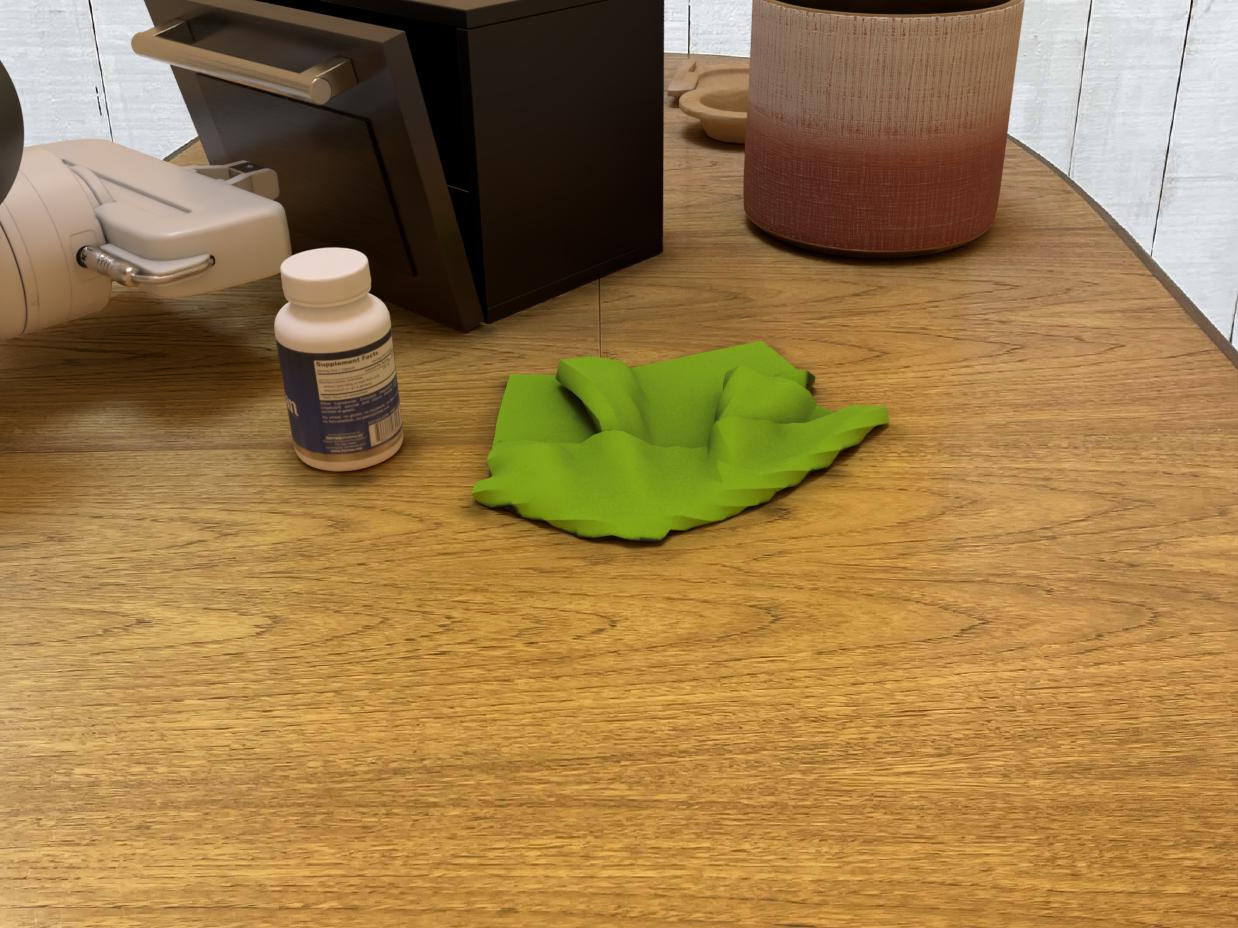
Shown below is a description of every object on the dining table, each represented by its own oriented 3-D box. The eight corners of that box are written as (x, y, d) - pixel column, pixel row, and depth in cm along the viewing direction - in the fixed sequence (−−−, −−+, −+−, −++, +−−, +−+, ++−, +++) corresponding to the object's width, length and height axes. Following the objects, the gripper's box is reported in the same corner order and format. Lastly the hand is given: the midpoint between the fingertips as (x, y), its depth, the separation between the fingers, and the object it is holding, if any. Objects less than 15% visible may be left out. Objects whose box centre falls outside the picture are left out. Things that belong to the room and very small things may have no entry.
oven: (488, 323, 75) (466, 10, 66) (262, 234, 90) (218, -35, 80) (663, 251, 85) (665, -29, 76) (435, 181, 100) (413, -63, 91)
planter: (1000, 194, 95) (1032, -27, 87) (986, 279, 80) (1022, 22, 72) (769, 175, 100) (779, -36, 92) (716, 252, 85) (722, 9, 77)
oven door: (425, 361, 73) (332, 68, 61) (202, 262, 87) (94, 9, 76) (484, 320, 75) (405, 30, 64) (258, 230, 89) (161, -20, 78)
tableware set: (449, 163, 104) (445, 114, 102) (473, 79, 129) (470, 38, 127) (871, 153, 104) (875, 104, 102) (812, 72, 130) (815, 31, 128)
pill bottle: (287, 432, 64) (257, 250, 59) (392, 414, 65) (371, 235, 61) (303, 483, 59) (272, 291, 55) (415, 462, 61) (394, 273, 56)
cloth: (425, 530, 56) (420, 483, 55) (536, 330, 74) (534, 292, 73) (893, 570, 53) (898, 521, 51) (886, 350, 71) (890, 311, 70)
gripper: (124, 225, 58) (366, 158, 67) (-59, 145, 70) (166, 97, 79) (152, 349, 61) (379, 270, 70) (-28, 252, 73) (185, 195, 82)
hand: (265, 178), depth 74 cm, fingers closed
